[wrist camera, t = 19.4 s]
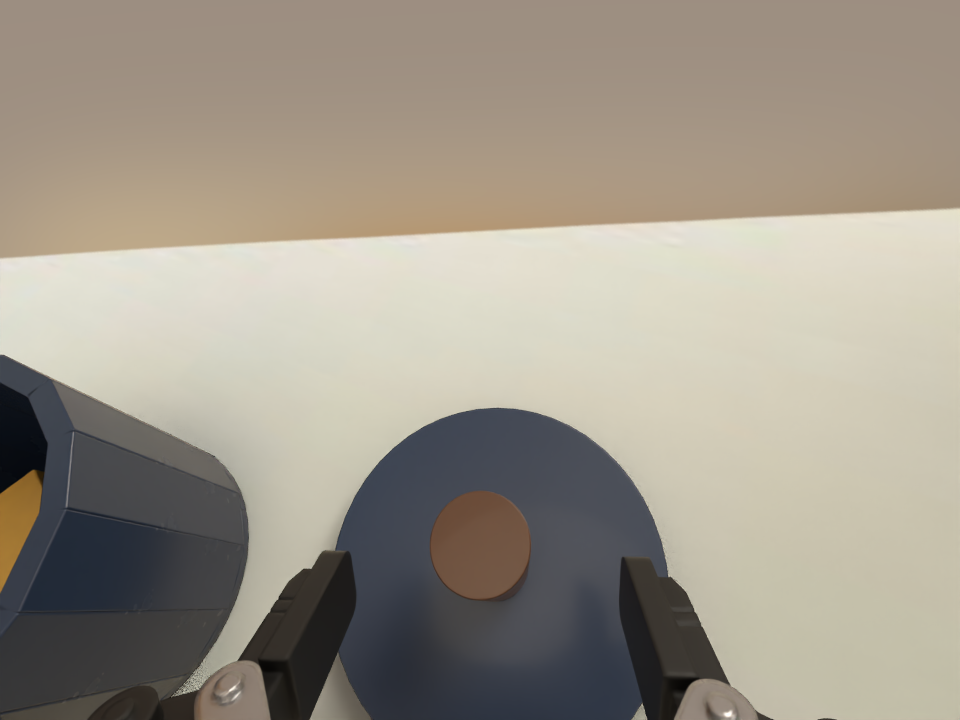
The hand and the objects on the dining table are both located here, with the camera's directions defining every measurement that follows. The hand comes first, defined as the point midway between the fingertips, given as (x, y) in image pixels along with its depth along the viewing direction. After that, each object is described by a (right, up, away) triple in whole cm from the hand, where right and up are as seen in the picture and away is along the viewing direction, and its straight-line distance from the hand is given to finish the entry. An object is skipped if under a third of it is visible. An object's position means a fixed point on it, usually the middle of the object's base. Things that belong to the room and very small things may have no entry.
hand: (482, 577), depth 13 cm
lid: (+1, -2, +6) cm, 6 cm away
